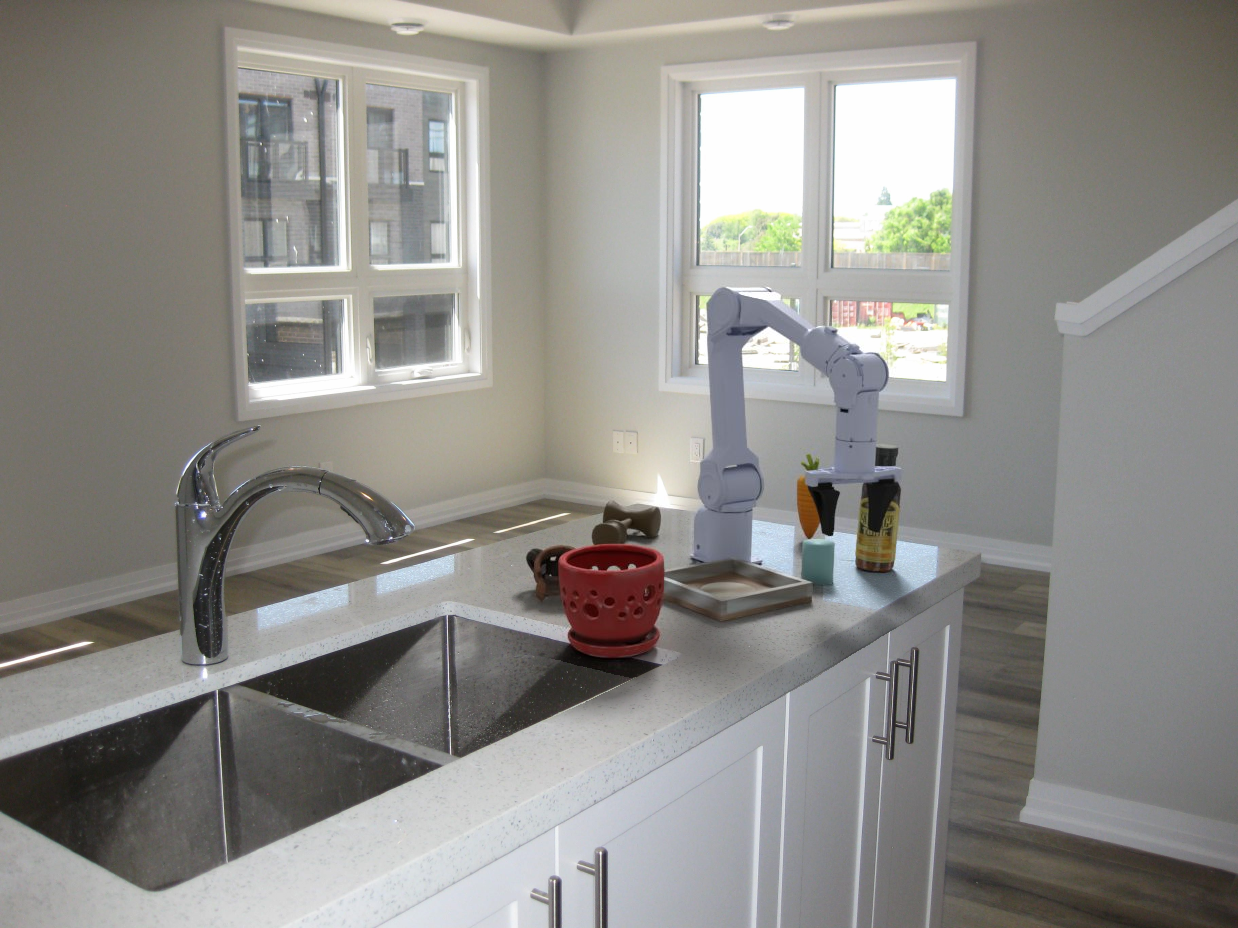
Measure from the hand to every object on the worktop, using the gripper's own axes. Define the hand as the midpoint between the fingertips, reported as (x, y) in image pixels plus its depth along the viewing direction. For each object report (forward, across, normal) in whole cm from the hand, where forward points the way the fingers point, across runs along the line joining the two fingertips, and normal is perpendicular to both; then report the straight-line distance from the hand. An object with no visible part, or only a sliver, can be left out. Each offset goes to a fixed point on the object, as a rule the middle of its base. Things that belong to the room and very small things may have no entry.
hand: (850, 532), depth 165 cm
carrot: (+10, +12, +34) cm, 38 cm away
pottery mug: (+10, -39, +15) cm, 43 cm away
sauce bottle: (+10, +13, +14) cm, 21 cm away
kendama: (+10, -18, +44) cm, 49 cm away
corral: (+10, -16, +6) cm, 20 cm away
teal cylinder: (+10, 0, +10) cm, 14 cm away
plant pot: (+10, -40, -10) cm, 42 cm away
